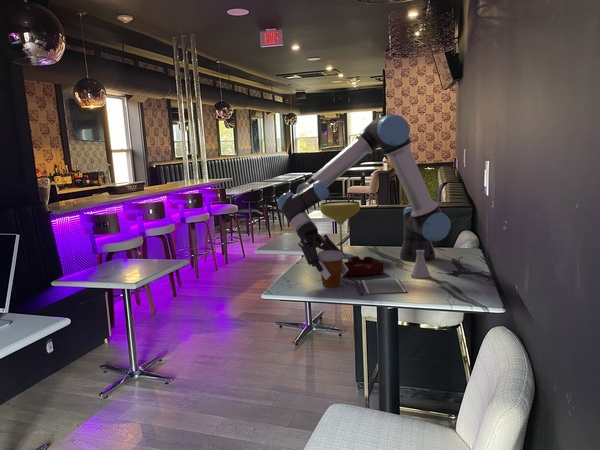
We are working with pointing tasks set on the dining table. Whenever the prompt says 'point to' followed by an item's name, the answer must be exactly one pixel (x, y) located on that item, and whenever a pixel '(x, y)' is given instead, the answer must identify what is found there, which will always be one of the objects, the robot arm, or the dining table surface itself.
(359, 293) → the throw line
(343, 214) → the cocktail glass
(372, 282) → the mat
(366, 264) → the ashtray
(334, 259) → the disposable coffee cup
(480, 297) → the dining table surface
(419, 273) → the flask
